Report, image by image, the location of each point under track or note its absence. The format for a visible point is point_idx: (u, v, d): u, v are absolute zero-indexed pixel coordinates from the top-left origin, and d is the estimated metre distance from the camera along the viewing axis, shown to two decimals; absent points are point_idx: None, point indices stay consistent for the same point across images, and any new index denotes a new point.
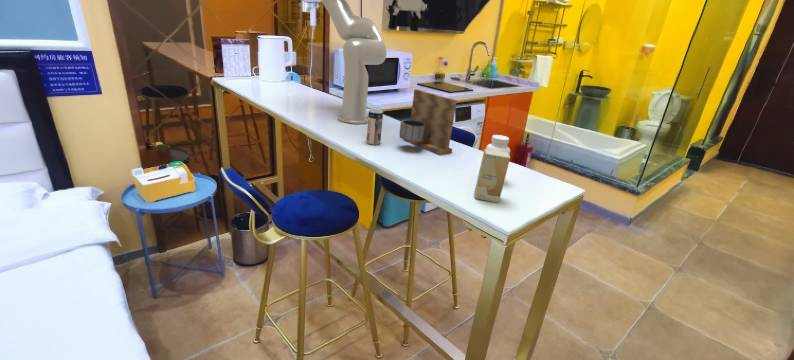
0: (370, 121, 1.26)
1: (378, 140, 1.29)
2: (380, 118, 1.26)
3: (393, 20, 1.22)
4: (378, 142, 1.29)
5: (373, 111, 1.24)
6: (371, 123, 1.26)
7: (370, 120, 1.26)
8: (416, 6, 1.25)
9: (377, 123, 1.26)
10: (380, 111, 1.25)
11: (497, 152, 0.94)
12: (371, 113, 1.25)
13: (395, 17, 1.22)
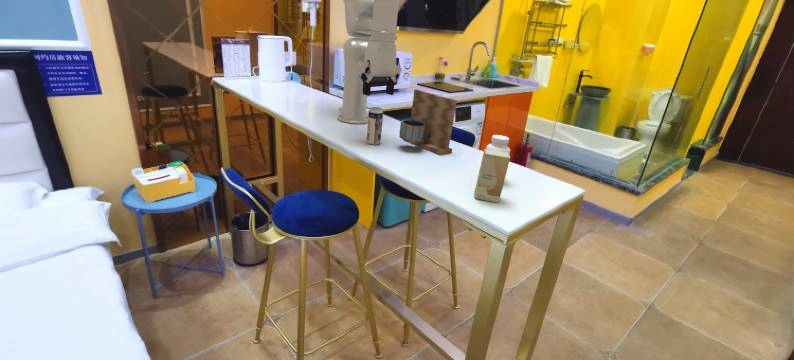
0: (370, 121, 1.26)
1: (378, 140, 1.29)
2: (380, 118, 1.26)
3: (366, 87, 1.19)
4: (378, 142, 1.29)
5: (373, 111, 1.24)
6: (371, 123, 1.26)
7: (370, 120, 1.26)
8: (390, 71, 1.21)
9: (377, 123, 1.26)
10: (380, 111, 1.25)
11: (497, 152, 0.94)
12: (371, 113, 1.25)
13: (369, 85, 1.18)
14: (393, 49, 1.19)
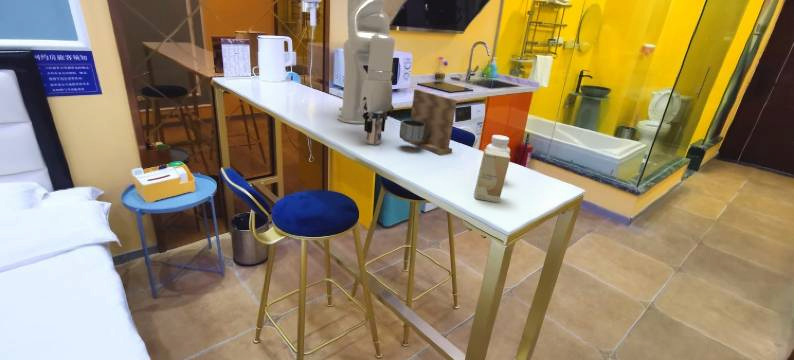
0: None
1: (378, 140, 1.29)
2: (380, 118, 1.26)
3: (368, 125, 1.25)
4: (378, 142, 1.29)
5: None
6: None
7: None
8: (386, 107, 1.26)
9: (377, 123, 1.26)
10: (380, 111, 1.25)
11: (497, 152, 0.94)
12: None
13: (370, 123, 1.25)
14: (389, 86, 1.23)
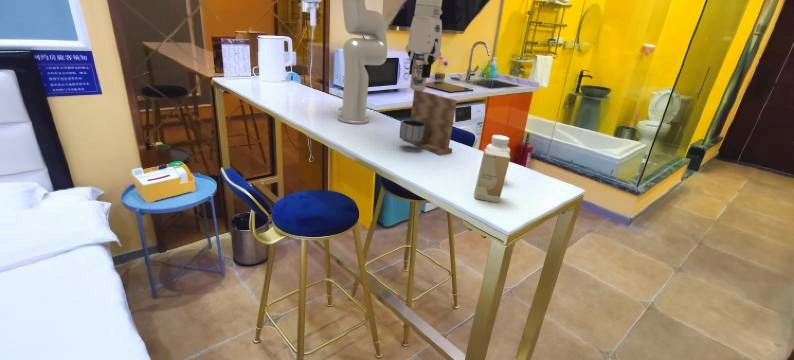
0: None
1: (413, 84, 1.19)
2: (416, 59, 1.17)
3: None
4: (413, 87, 1.20)
5: None
6: None
7: None
8: (424, 48, 1.14)
9: (413, 65, 1.18)
10: (417, 51, 1.16)
11: (497, 152, 0.94)
12: None
13: None
14: (427, 23, 1.11)
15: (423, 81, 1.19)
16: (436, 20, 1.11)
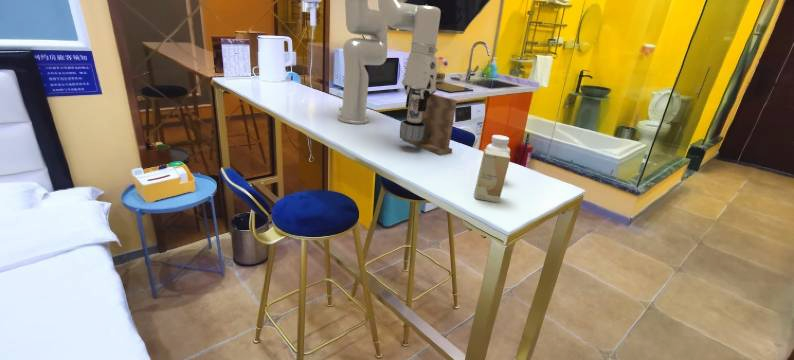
0: None
1: (410, 117, 1.23)
2: (412, 94, 1.20)
3: (407, 99, 1.25)
4: (410, 120, 1.23)
5: None
6: None
7: None
8: (419, 83, 1.18)
9: (409, 99, 1.22)
10: (413, 86, 1.20)
11: (497, 152, 0.94)
12: None
13: None
14: (422, 60, 1.15)
15: (419, 114, 1.23)
16: (431, 58, 1.15)
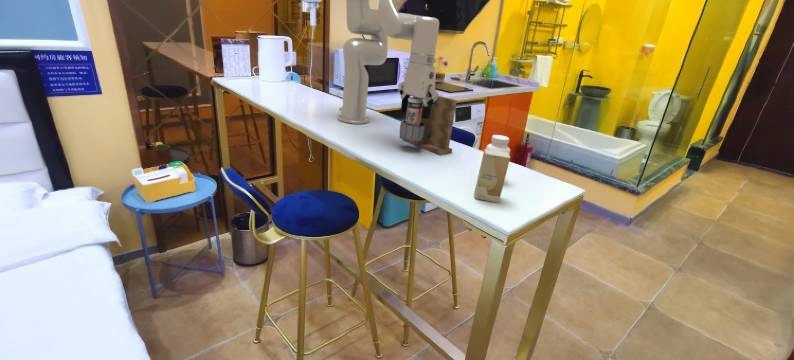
0: None
1: None
2: (409, 107, 1.22)
3: (402, 103, 1.27)
4: None
5: None
6: None
7: None
8: (418, 93, 1.19)
9: (407, 112, 1.24)
10: (410, 100, 1.22)
11: (497, 152, 0.94)
12: None
13: None
14: (421, 70, 1.16)
15: None
16: (430, 68, 1.16)
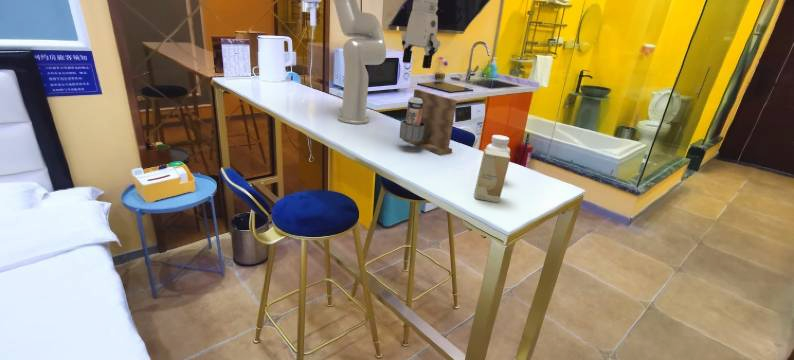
0: None
1: None
2: (410, 107, 1.22)
3: None
4: None
5: None
6: None
7: None
8: (420, 42, 1.20)
9: (407, 112, 1.24)
10: (411, 100, 1.22)
11: (497, 152, 0.94)
12: None
13: None
14: (423, 18, 1.17)
15: None
16: (432, 16, 1.17)
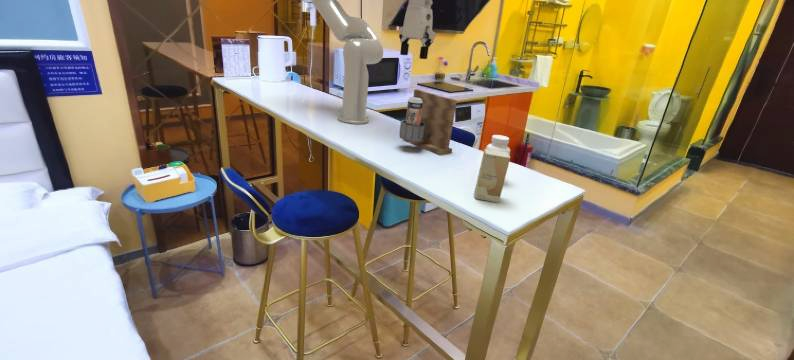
0: None
1: None
2: (410, 107, 1.22)
3: None
4: None
5: None
6: None
7: None
8: (416, 34, 1.28)
9: (407, 112, 1.24)
10: (411, 100, 1.22)
11: (497, 152, 0.94)
12: None
13: None
14: (419, 12, 1.26)
15: None
16: (427, 9, 1.25)
